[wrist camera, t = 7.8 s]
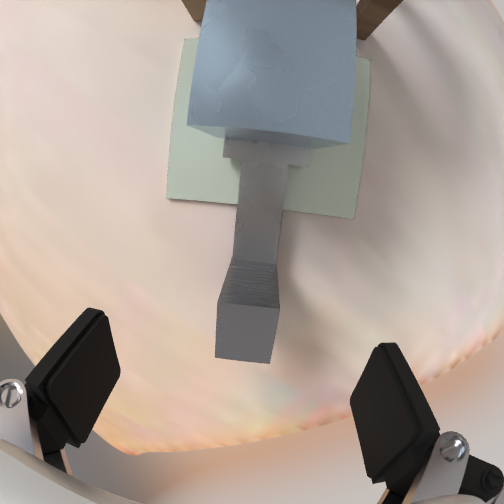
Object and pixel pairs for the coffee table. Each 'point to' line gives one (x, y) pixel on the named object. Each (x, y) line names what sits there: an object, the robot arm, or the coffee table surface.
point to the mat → (299, 177)
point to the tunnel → (367, 13)
